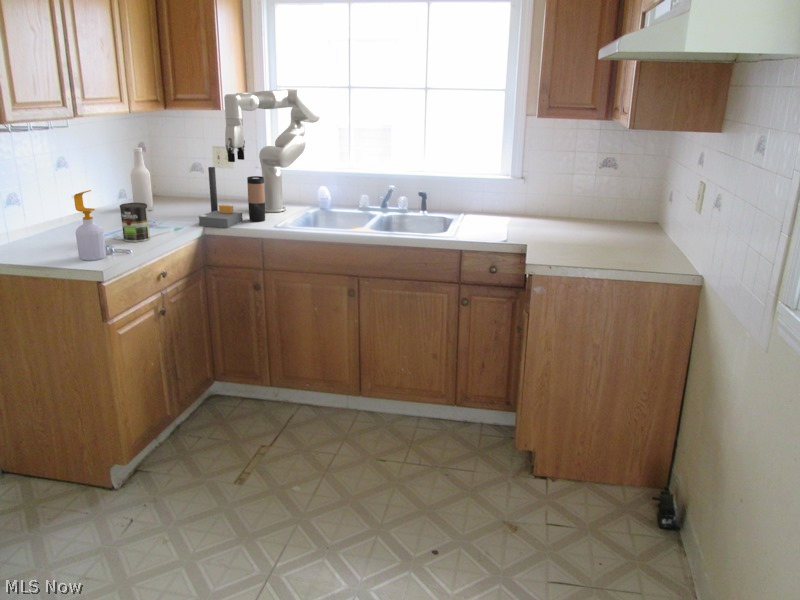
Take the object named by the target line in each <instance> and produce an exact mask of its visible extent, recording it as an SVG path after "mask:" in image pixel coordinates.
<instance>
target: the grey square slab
mask: <svg viewBox="0 0 800 600" xmlns="http://www.w3.org/2000/svg"><path fill="white" fill-rule="evenodd" d="M198 221H199V223H198V224H199V226H201V227H202V226H203V227H214V228H227V229H230V228H231V227H233V226H235V225H238V224H240V222H241V223H243V221H244V220H243V212H235V211H233V213H220V212H219V210H218V211H213V212H207V213H205V214H202V215H199V216H198Z"/></svg>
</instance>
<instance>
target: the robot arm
mask: <svg viewBox="0 0 800 600" xmlns="http://www.w3.org/2000/svg"><path fill="white" fill-rule="evenodd" d="M223 100H224V112H225V113H224V115H225V116H224V117H225V129H224V130H225V131H224V133H225V135H224V137H225V140H224V141H225V150H226V154H227V162H228V163H235V162H236V157H235V149H237V150H236V153H237V160H241V161H244V160H245V144H246V142H245V141H246V140H245V139H244V131H243V129H244V128H243V126H244V124H243V123H244V122H243V121H244V120H243V111H247V112H252V111H256V110H257V109H260V110H261V109H262V110H276V109H283V108H284V109H285V108H291V110H290V123H289V125H288V127H287V128H286V129H284V131H283V132H281V133H280V134H279V135H278V137H277V138H276V139H275V142H274V146H273V145H267V146H263V147H262V148H261V149H260V151H259V154H258V156H259V157H258V159H259V164H260V167H261V177H264V192H265V213H283V212H285V211H286V209H287V208H286V207H285V206H283V204H285V199H283V180H282V179H283V176H282V170H281V169H283V168H284V169H285V168H288V167H290V166H291V165H292V164H293V163H294V162H296V160H297V159H298V158H300V156H301V155H302V154H303V153H304V151H305V147H306V139H305V138H304V136H305V129H306V128H305V123H310V124H311V123H312V124H314V123H317V122H318V121H319V120H320V118H321V111H320V108H319V106H318V105H317V104H316V103H315V102H314V101H313V99H311V97H310V96H309V95H308V94H307V93H306V92H305V91H303V90H301V89H295V88H294V89H292V88H289V89H288V88H285V89H275V90H274V89H273V90H261V91H249V92H236V93H228V94H225V95H224V99H223ZM282 211H283V212H282Z"/></svg>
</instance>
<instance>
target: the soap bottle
mask: <svg viewBox="0 0 800 600" xmlns="http://www.w3.org/2000/svg"><path fill="white" fill-rule="evenodd" d="M89 192H92V190H91V189H89V190H86V191H85V190H84V191H82V192H79V193H75V194H74V195H73V201H74V207H75V210H76V211H77V212H82V214H84V216H83V217H82V224H81V225H79V226H78V228H76V230H75V240H76V245H77V252H78V253H77V254H78V258H79V260H82V261H89V262H90V261H99V260H102V259H104V258H107V249H106V242H105V241H106V240H105V234H104V230H103V227H101V226H100V225H99V224H96V223H95V222H94V217H93V216H91V214H92V212H93V211H95V210H96V209H95V208H91V207H90V208H88V207H85V205H84V199H83V195H84V194H86V193H89Z"/></svg>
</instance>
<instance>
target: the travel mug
mask: <svg viewBox="0 0 800 600" xmlns="http://www.w3.org/2000/svg"><path fill="white" fill-rule="evenodd" d="M246 180H247V200H248V201H247V204H248V215H249V221H250V222H254V223H260V222H261V223H262V222H265V221H266V212H265V192H264V177H262V175H261V176H259V175H253V176H251V175H250V176H247V178H246Z"/></svg>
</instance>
